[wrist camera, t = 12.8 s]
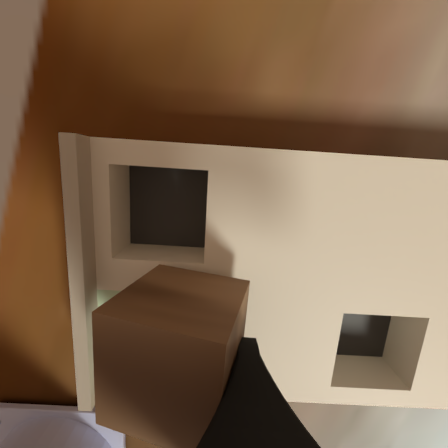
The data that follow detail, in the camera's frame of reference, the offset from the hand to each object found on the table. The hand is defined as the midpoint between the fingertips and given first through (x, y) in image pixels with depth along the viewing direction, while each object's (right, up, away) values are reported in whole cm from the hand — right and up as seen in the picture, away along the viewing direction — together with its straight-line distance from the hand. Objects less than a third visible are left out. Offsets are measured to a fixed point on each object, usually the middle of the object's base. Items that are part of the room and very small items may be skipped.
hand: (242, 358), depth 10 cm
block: (-2, +1, +1) cm, 2 cm away
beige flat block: (+4, +3, +4) cm, 6 cm away
